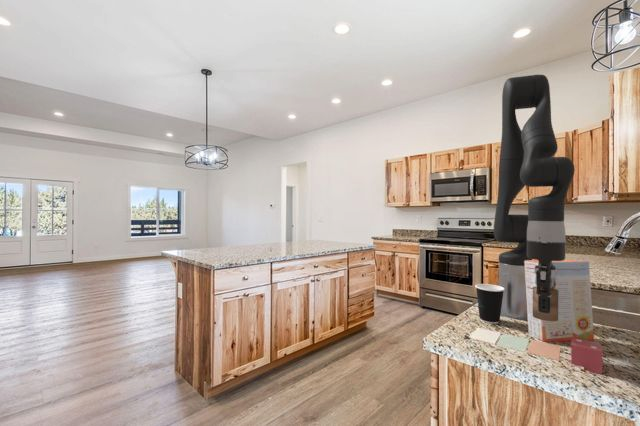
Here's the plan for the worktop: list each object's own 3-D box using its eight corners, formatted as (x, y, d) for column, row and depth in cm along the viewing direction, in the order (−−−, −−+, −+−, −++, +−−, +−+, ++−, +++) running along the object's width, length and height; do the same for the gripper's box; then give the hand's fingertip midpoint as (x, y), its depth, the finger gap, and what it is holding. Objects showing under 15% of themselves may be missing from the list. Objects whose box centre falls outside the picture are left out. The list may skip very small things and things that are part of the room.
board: (476, 328, 88) (476, 326, 88) (562, 348, 75) (562, 345, 75) (466, 340, 79) (466, 338, 79) (561, 365, 67) (561, 362, 67)
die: (571, 358, 70) (571, 336, 70) (600, 365, 67) (600, 343, 67) (571, 366, 66) (571, 344, 66) (602, 375, 63) (602, 351, 63)
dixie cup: (509, 324, 91) (510, 288, 91) (495, 329, 87) (495, 291, 87) (483, 316, 98) (484, 282, 98) (469, 320, 94) (469, 285, 94)
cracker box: (574, 334, 84) (571, 259, 85) (595, 342, 78) (591, 261, 79) (526, 334, 83) (523, 259, 85) (543, 342, 77) (539, 261, 79)
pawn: (533, 312, 76) (533, 271, 76) (558, 317, 73) (559, 274, 73) (531, 317, 73) (531, 274, 73) (557, 323, 69) (558, 277, 69)
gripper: (530, 237, 81) (529, 300, 81) (523, 240, 70) (522, 313, 70) (566, 238, 76) (565, 305, 76) (564, 242, 65) (564, 321, 65)
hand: (545, 309), depth 73 cm, fingers closed on pawn, 5 cm apart
